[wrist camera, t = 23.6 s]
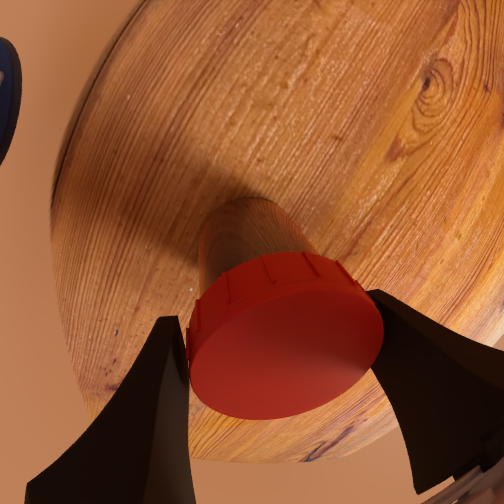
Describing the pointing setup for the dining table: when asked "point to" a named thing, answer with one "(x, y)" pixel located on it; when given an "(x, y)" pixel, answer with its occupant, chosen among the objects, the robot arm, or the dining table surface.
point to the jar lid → (281, 336)
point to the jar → (245, 237)
